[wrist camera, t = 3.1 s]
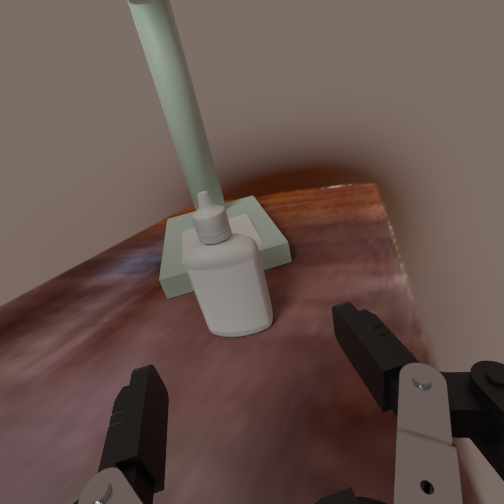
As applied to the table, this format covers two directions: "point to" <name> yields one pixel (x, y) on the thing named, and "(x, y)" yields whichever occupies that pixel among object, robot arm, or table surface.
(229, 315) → the eye dropper bottle
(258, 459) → the table surface
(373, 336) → the robot arm
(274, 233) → the arbor press
